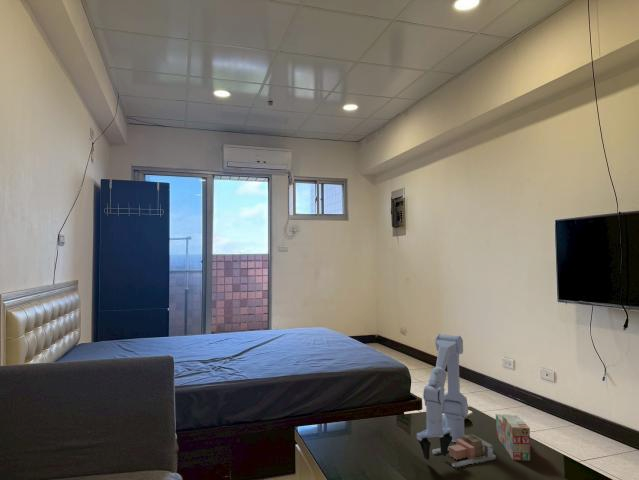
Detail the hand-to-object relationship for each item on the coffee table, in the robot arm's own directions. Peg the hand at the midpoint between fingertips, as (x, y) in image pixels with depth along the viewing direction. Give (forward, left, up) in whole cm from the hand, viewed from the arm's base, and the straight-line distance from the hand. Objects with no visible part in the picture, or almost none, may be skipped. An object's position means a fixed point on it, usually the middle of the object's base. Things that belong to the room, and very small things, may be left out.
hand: (435, 456), depth 150 cm
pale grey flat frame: (0, +13, -2) cm, 13 cm away
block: (0, +17, -2) cm, 17 cm away
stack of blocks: (+2, +36, -2) cm, 36 cm away
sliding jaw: (0, +12, -2) cm, 12 cm away
